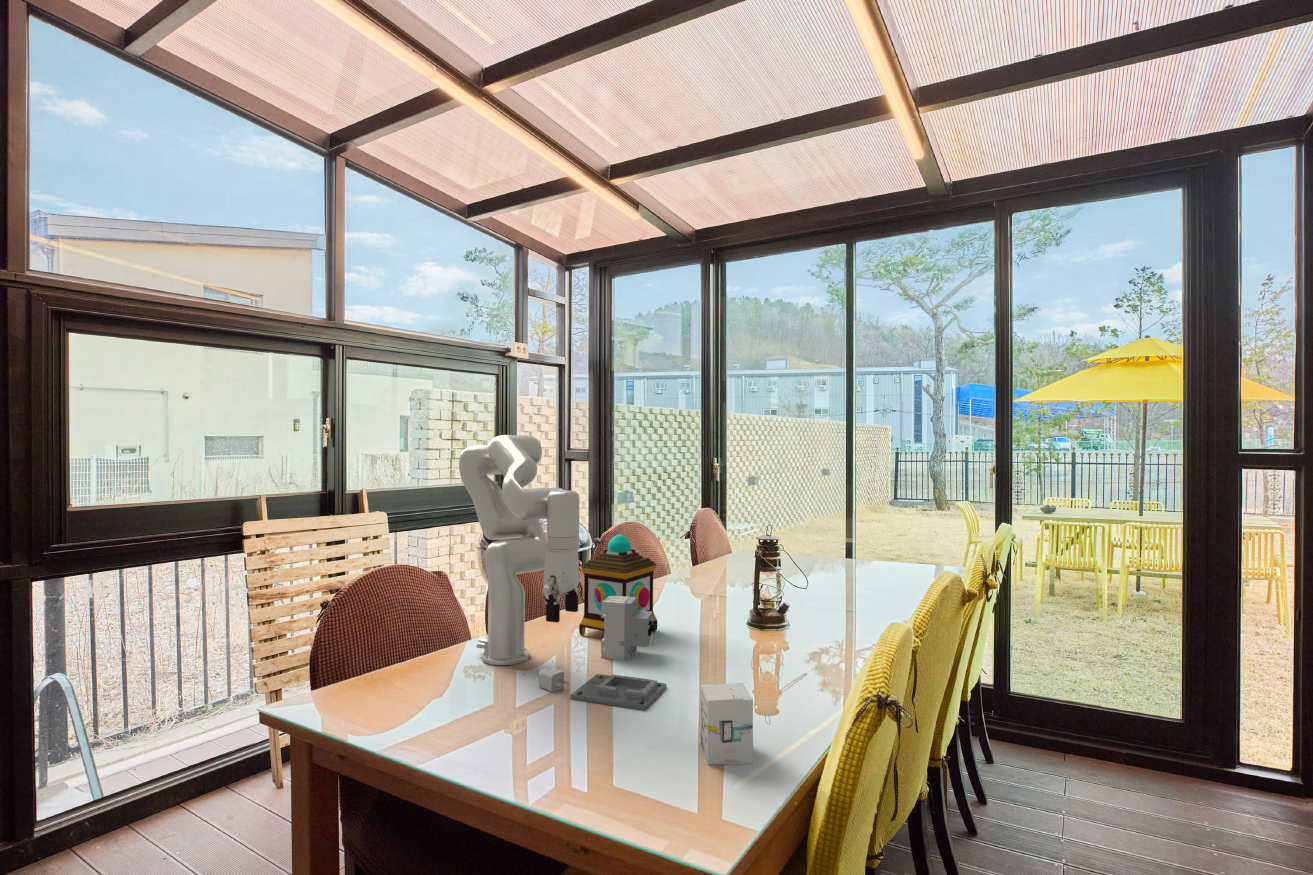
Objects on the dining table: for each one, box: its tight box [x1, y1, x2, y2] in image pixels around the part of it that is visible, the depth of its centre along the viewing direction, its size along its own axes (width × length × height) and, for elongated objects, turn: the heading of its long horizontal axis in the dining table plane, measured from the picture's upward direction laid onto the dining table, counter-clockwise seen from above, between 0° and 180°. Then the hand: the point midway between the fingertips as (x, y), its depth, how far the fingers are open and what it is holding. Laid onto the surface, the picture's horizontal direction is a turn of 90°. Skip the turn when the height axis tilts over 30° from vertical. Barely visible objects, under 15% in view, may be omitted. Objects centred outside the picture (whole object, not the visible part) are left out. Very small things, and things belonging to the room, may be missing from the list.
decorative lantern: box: [578, 534, 658, 636], centre depth 199 cm, size 20×20×30 cm
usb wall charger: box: [538, 667, 570, 693], centre depth 153 cm, size 4×7×4 cm, turn 51°
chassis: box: [570, 673, 667, 711], centre depth 151 cm, size 18×14×2 cm
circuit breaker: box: [600, 596, 658, 661], centre depth 178 cm, size 8×14×15 cm, turn 78°
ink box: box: [700, 682, 754, 766], centre depth 122 cm, size 8×8×12 cm
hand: (562, 616), depth 154 cm, fingers open, 9 cm apart
